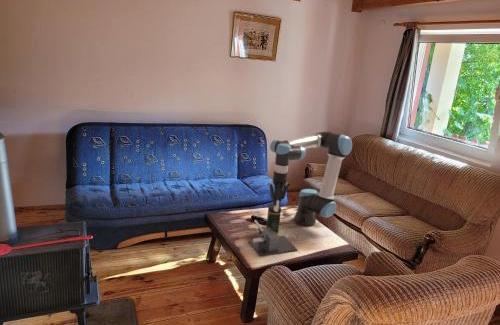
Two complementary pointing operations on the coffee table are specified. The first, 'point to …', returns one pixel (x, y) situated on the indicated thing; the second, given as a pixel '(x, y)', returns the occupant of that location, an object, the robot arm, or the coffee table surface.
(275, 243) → the hitch block
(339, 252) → the coffee table surface
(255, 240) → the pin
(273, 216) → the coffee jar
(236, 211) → the coffee table surface
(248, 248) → the coffee table surface
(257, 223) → the keeper
